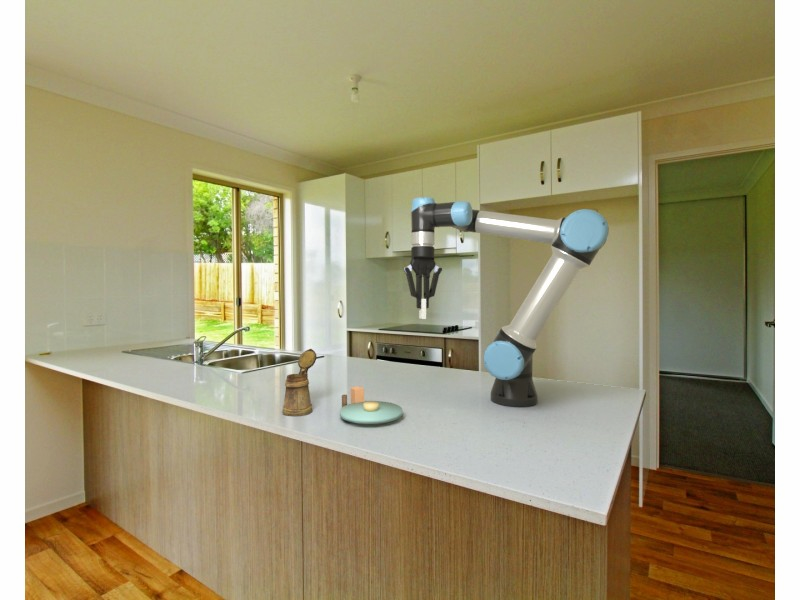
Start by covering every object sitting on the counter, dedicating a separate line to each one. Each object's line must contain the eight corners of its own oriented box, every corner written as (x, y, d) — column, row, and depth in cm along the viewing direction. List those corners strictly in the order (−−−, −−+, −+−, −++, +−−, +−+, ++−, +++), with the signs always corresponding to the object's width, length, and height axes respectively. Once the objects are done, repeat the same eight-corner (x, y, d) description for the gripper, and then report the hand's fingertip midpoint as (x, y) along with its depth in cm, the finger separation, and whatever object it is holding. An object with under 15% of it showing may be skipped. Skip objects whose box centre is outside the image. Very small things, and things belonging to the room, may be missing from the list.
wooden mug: (324, 405, 139) (324, 349, 138) (303, 417, 126) (302, 356, 125) (299, 402, 142) (299, 347, 141) (276, 414, 129) (275, 354, 128)
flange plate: (381, 399, 140) (381, 383, 140) (413, 417, 122) (413, 399, 122) (327, 407, 132) (327, 390, 132) (353, 427, 113) (353, 408, 113)
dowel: (347, 410, 132) (347, 394, 132) (346, 412, 131) (346, 396, 131) (342, 410, 133) (342, 394, 133) (341, 412, 131) (341, 395, 131)
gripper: (437, 247, 147) (437, 317, 148) (400, 246, 143) (400, 318, 144) (445, 245, 140) (445, 319, 141) (407, 244, 136) (406, 319, 137)
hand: (422, 318), depth 142 cm, fingers closed
